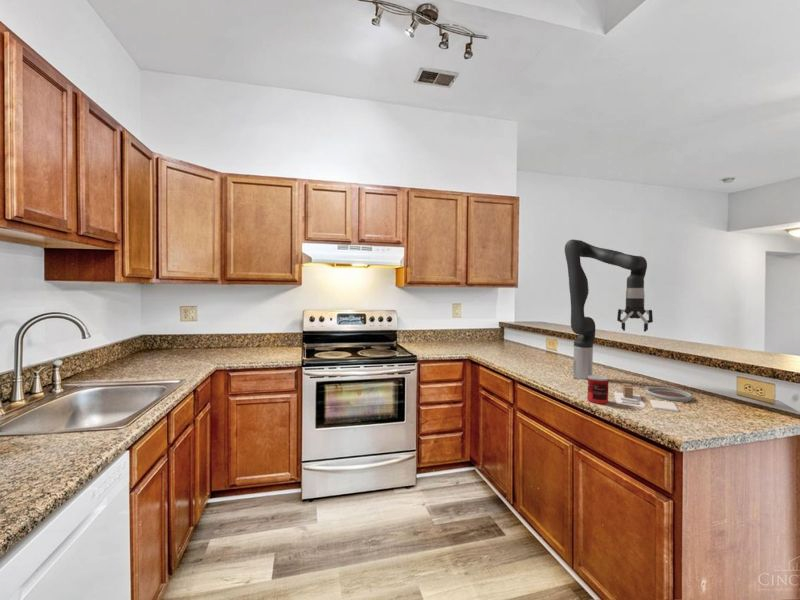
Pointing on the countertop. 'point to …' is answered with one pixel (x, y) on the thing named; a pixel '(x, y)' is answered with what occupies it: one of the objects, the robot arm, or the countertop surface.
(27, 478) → the countertop surface
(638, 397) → the mat
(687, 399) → the frying pan
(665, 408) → the tile
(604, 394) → the canned food
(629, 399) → the tan long bar
